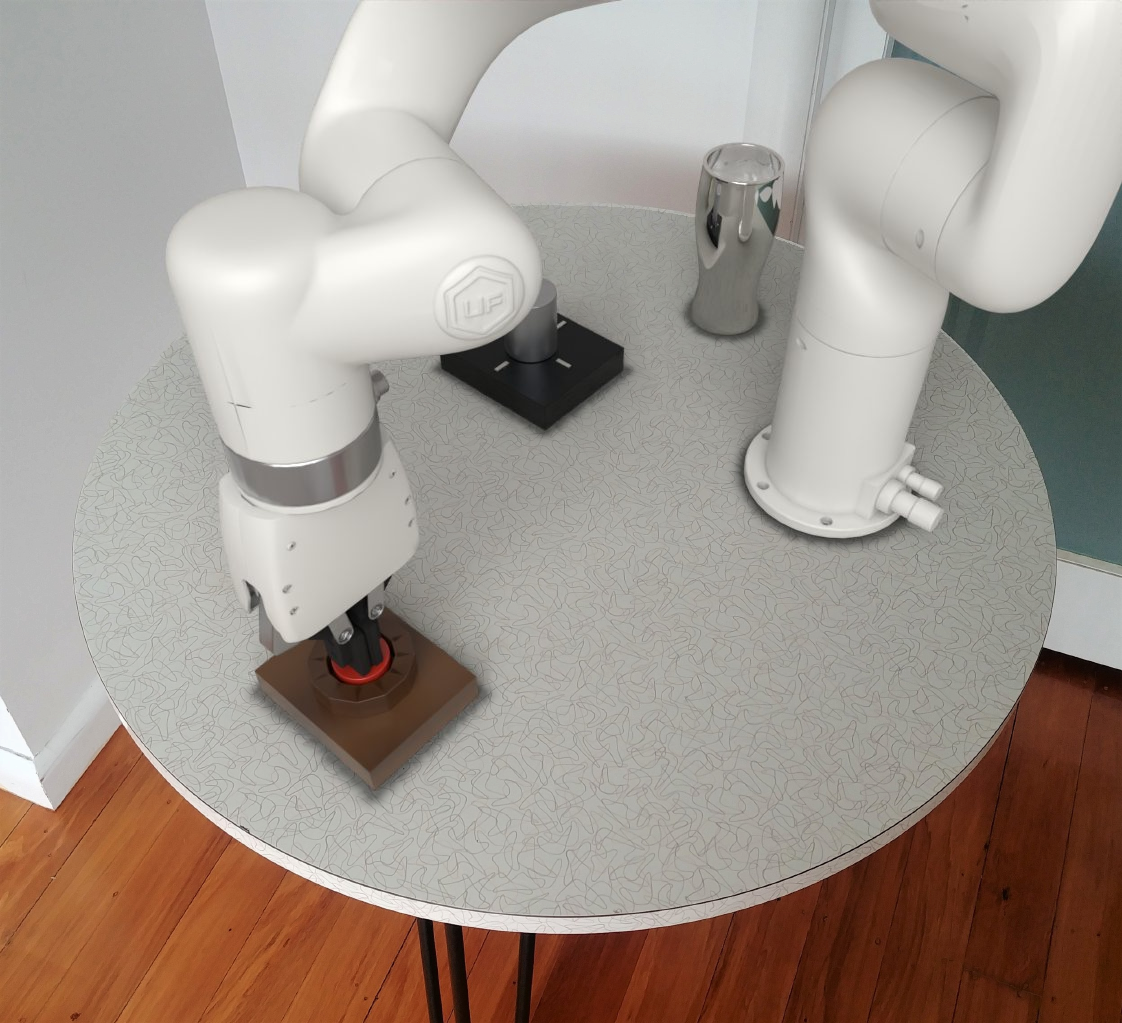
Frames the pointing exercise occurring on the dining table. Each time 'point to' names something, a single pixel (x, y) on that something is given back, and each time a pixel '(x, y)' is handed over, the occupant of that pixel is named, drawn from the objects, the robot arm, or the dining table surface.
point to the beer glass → (734, 233)
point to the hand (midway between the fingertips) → (357, 656)
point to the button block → (372, 699)
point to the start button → (376, 672)
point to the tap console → (541, 373)
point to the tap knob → (536, 329)
